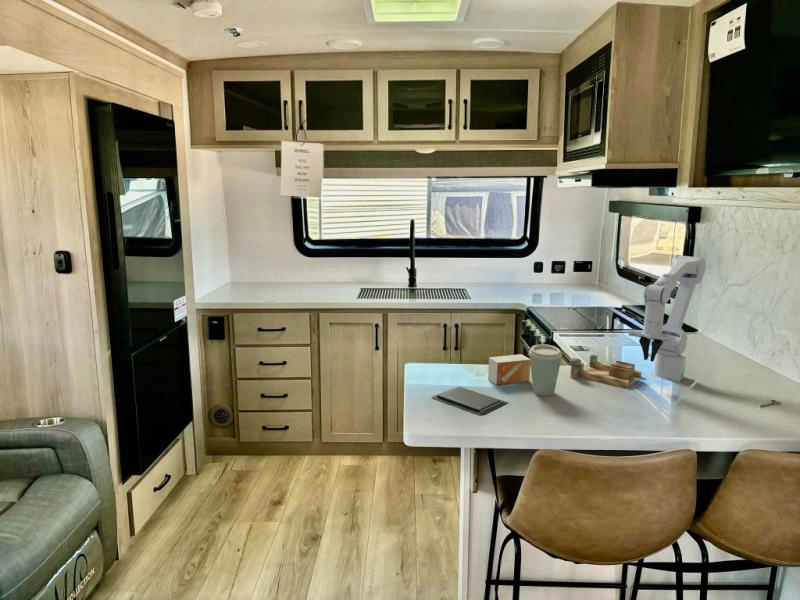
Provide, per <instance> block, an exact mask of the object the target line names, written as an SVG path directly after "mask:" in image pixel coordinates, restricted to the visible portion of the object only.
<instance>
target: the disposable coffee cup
mask: <svg viewBox="0 0 800 600" xmlns="http://www.w3.org/2000/svg"><path fill="white" fill-rule="evenodd" d="M528 356H529V359H530V373H531V380H532V381H531V382H532V388H533V391H534V393H535V394H536V393H537V394H536V395H538V394H539V395H538V396H545V395H546V396H547V397H549V396H552V395H553V394H554V392H555V391H556V386H557V381H558V376H559V372H560V367H561V362H562V359H563V353H562V351H561V350H560V348H559V347H557V346H555V345H550V344H543V343H541V344H535V345H532V346H531V347H530V350H528Z"/></svg>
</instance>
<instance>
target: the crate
mask: <svg viewBox="0 0 800 600" xmlns="http://www.w3.org/2000/svg"><path fill="white" fill-rule="evenodd" d="M610 365H611V366H610V368H609V376H611V377H616V378H620V379H624V380H629V381H631V380H632V379H633V378H634V370H636V364H634V363H631V362H624V361H621V360H615V362H614V363H611V364H610Z"/></svg>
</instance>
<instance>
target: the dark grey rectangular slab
mask: <svg viewBox="0 0 800 600" xmlns="http://www.w3.org/2000/svg"><path fill="white" fill-rule="evenodd" d="M431 399H432V400H435V401H437V400H438V401H437V402H441V403H444V404H445V405H446V404H447V405H449V406H451V405H452V407H455V408H457V409H460V410H464V411H465V412H469V413H471V414H474V415H476V416H479V417H480V416H486V415H488V414H490V413H492V412H494V411H495V410H498V409H500V408H502V407H504V406H507V405H508V403H509V401H505V400H503V399H500V398H497V397H494V396H490V395H488V394H485V393H482V392H478V391H476V390H472V389H470V388H466V387H462V386H457V387H454V388H452V389H450V390H449V389H448V390H446V391H444V392H441V393H439V394H435V395H434V396H432V397H431Z"/></svg>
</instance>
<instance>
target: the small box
mask: <svg viewBox="0 0 800 600" xmlns="http://www.w3.org/2000/svg"><path fill="white" fill-rule="evenodd" d="M487 373H488V374H487V380H489V381H490V382H491V383H493V384H494V385H496V386H497V385H498V386H499V384H500V385H507V384H510V385H511V384H517V383H518V382H519V383H526V382H527V381H528V382H530V373H531V364H530V357H527V356H525V355H524V354H520V353H519V354H510V355H509V354H508V355H502V356H492V357H491V356H490V357H488V371H487ZM519 383H518V384H519Z"/></svg>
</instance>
